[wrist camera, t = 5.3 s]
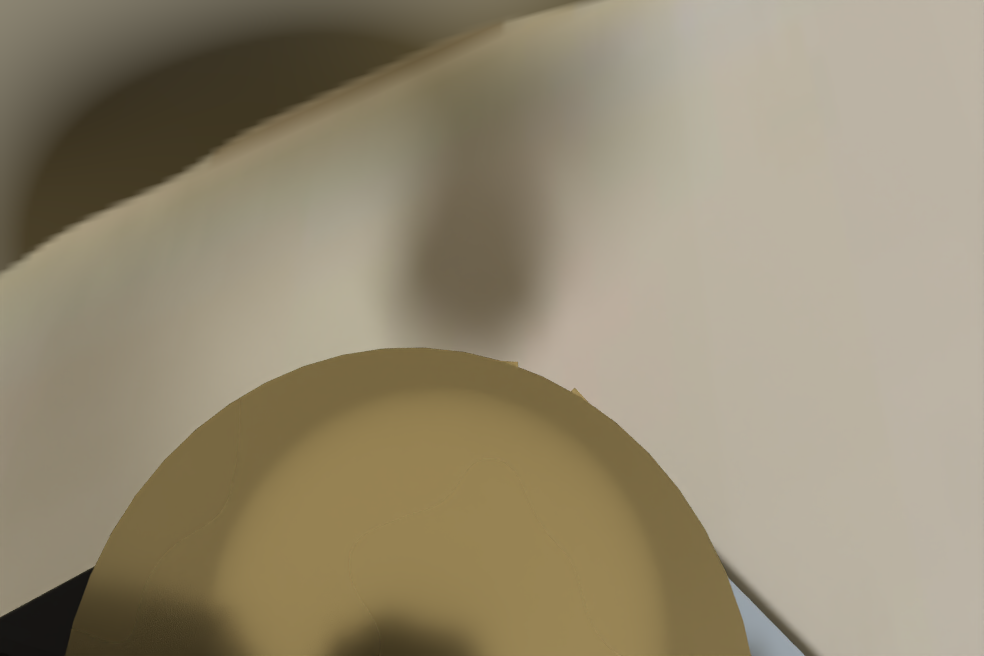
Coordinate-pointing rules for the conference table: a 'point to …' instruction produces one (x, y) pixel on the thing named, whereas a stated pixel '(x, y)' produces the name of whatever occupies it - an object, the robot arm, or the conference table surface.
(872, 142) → the conference table surface
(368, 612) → the gear
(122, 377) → the conference table surface
